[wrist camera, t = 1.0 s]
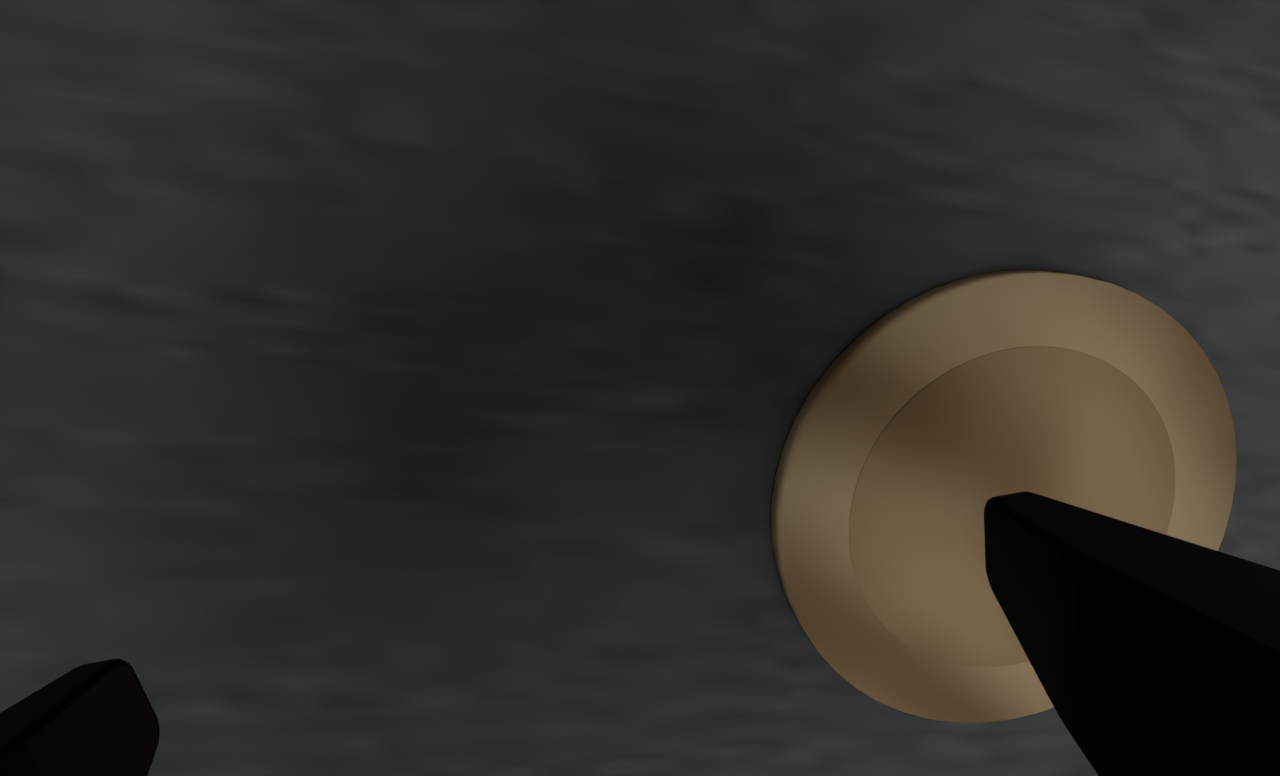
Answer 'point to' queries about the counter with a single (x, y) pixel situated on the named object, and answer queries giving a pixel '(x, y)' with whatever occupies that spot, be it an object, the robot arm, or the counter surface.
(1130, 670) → the robot arm
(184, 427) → the counter surface
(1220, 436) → the plate
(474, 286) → the counter surface
